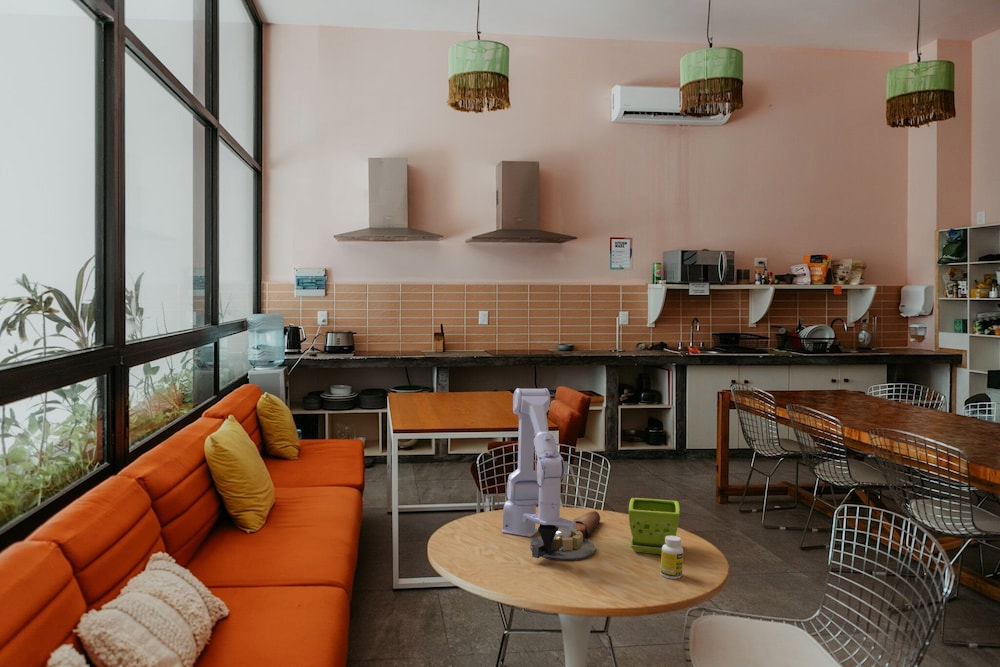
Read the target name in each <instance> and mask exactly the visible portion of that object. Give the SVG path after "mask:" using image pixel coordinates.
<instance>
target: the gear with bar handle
mask: <svg viewBox="0 0 1000 667" xmlns="http://www.w3.org/2000/svg"><path fill="white" fill-rule="evenodd" d="M560 542H561V549H562V551H568V550H573V549H579V548H581V547H582V545H583V534H582V533H581V532H580V531H577V529H575V530H573V531H571V537H566V538H560V537H556V536H554V539H553V542H552V545H551V551H553V550H558V549H560ZM531 552H532V553H531V557H532V558H535V559H539V558H542V557H541V556H543V555H545V554H547V553H545V547H544V543H543V541H542V542H540V543H538V544H536V545H534V546H532V551H531Z"/></svg>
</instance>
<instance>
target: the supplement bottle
mask: <svg viewBox="0 0 1000 667" xmlns="http://www.w3.org/2000/svg"><path fill="white" fill-rule="evenodd" d="M665 543H666V544H664V545H663V546H662V554H660V555H661V557H660V558H661V559H660V575H661V576H662V577H664V578H665V579H672V580H676V579H677V578H678V579H681V578H682V577H681V576H683V564H684V548H683V547H682V546H681V545H682V538H681V537H680V536H677V535H676V536H666V537H665ZM680 577H681V578H680ZM678 579H677V580H678Z"/></svg>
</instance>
